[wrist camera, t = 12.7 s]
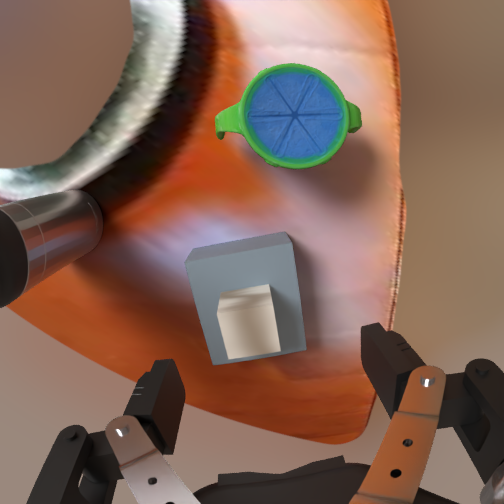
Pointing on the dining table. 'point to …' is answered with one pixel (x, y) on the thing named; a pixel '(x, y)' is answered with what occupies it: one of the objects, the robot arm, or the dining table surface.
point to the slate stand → (244, 276)
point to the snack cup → (291, 116)
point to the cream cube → (248, 322)
